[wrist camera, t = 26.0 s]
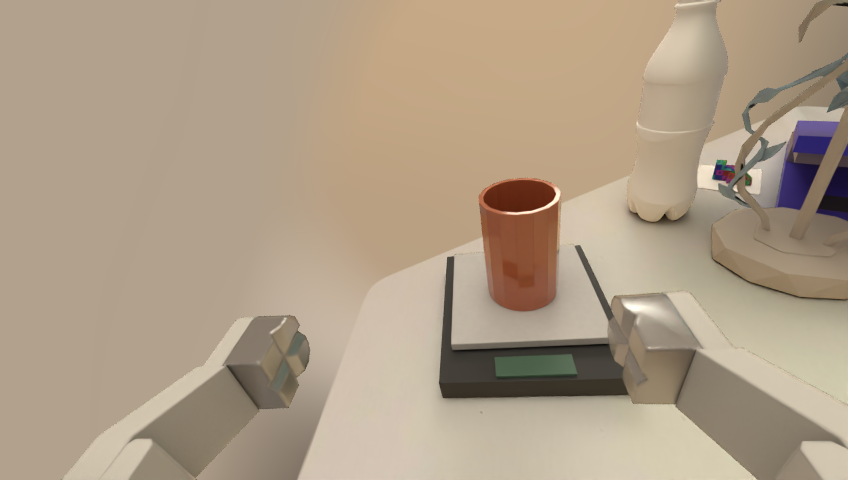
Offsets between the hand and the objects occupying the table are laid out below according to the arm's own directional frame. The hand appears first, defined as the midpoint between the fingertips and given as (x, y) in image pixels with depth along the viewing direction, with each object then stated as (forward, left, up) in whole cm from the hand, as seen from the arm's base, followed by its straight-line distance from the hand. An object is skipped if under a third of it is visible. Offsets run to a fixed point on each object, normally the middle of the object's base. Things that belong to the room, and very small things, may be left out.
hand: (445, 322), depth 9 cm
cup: (+4, +20, -17) cm, 27 cm away
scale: (+4, +19, -20) cm, 28 cm away
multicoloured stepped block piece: (+35, +43, -20) cm, 59 cm away
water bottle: (+23, +36, -20) cm, 47 cm away
